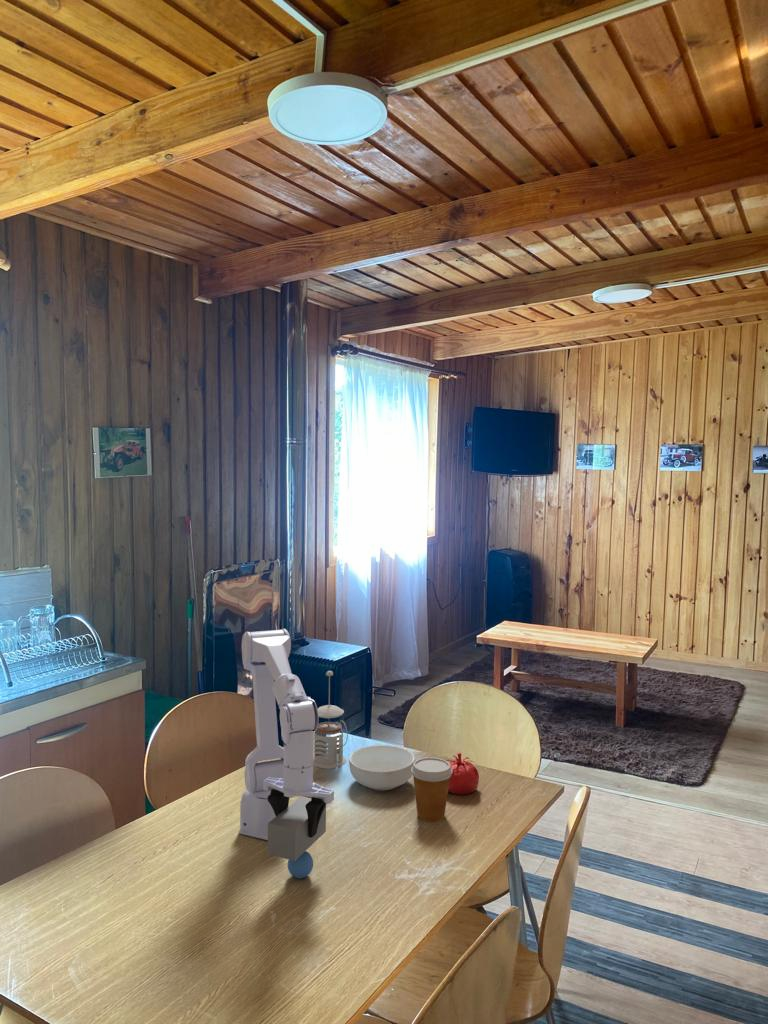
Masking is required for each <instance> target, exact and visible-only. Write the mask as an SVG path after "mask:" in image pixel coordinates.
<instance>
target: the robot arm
mask: <svg viewBox="0 0 768 1024" xmlns="http://www.w3.org/2000/svg"><path fill="white" fill-rule="evenodd" d="M291 650H292V641H291V635H290V632H289V631H288V630H287V629H286V628H281V629H274V630H261V631H260V630H259V631H245V632H244V633H243V635H242V638H241V659H242V665H243V669H244V670H246V671H250V675H251V678H252V691H253V704H254V720H255V721H254V722H255V737H256V746H255V748H254V749H253V750H252V751H251V752H250V753H248V755H247V756H246V758H245V760H244V761H245V762H244V765H245V766H244V784H245V788H246V789H245V790H244V791H243V793H242V795H241V800H240V810H239V811H240V814H239V815H240V816H239V819H240V821H239V822H240V823H239V825H240V827H239V828H240V829H239V830H238V831H237V832H238V834H239V835H243V836H248V837H251V838H257V839H259V840H265V841H268V823H269V822H270V821H271V820H272V819H274V818H275V817H276V816H277V815H279V814H280V813H281V812H282V811H284V810H285V809H286V808H287V807H288V806H290V805H289V802H290V798H295V797H302V798H307V799H311V801H310V802H308V803H307V804H306V805H305V807H306V810H307V815H308V835H309V837H311V838H312V837H313V836H314V835H315V834H316V833H317V829H318V824H319V821H320V818H321V815H322V812H323V810H324V808H325V806H326V807H327V805H330V804H331V803H333V801H334V800H335V790H334V789H331V788H330V789H329V788H328V787H324V786H322V785H320V784H317V783H316V782H314V765H313V757H314V742H315V740H314V735H315V731H316V730H317V727H318V724H319V721H320V720H319V718H320V717H319V716H318V706H317V703H316V701H315V700H314V699H313V698H311V696H307V694H306V692H305V689H304V687H303V683H302V682H301V680H300V678H299V676H297V674H293V673H292V669H291V666H290V663H289V659H288V658H289V657H290V653H291ZM276 702H277V703H276ZM276 704H277V705H278V709H279V722H280V729H281V731H280V732H281V733H280V734H281V740H282V742H283V746H281V745H279V733H278V730H279V729H278V717H277V716H278V715H277V705H276ZM314 730H315V731H314Z"/></svg>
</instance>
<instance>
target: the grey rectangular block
mask: <svg viewBox="0 0 768 1024" xmlns="http://www.w3.org/2000/svg"><path fill="white" fill-rule="evenodd" d="M310 801H311V798H306V797H301V796H299V797H298V798H297V799H296V800H295V801H293V802H292V803H291V804H290V805H288V807H287V808H286V809H285V810H284V811H282V812H281V813H280V814H279V815H277V816H276V817H275V818H274V819H272V820H271V821H270V822H269V823H268V840H267V855H268V856H274V857H278V858H281V859H285V860H293V861H296V860H297V859H298V858H299V857H300V856H301V855H302V854H303V853H304V852H305V851H308V850H309V848H311V846H313V844H314V843H316V842H317V840H319V839H320V838H321V837H322V836H323V835H324V834H325V833H326V832H327V805H326V806H325V808H324V810H323V812H322V815H321V818H320V821H319V824H318V829H317V833H316V834H315V835H314V836H313V837H312V838H311V837H309V835H308V815H307V810H306V807H305V805H306V804H307V803H308V802H310Z"/></svg>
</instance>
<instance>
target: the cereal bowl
mask: <svg viewBox="0 0 768 1024" xmlns="http://www.w3.org/2000/svg"><path fill="white" fill-rule="evenodd" d="M348 761H349V763H348V765H349V771H350V774H351V776H352V778H353V779H354V780H355V781H356V782H357V783H358V784H360V785H362V786H364V787H368V788H369V789H372V790H375V791H389V790H393V789H395V788H397V787H400V786H402V785H404V784H406V783H407V782H408V781H409V780H410V779H411V777H412V776H413V774H412V772H411V768H412V766H413V763H414V762H415V761H416V758H415V755H414V754H413V752H412V751H410V750H408V749H406V748H404V747H401V746H396V745H389V744H388V745H387V744H385V745H384V744H383V745H382V744H380V745H379V744H377V745H369V746H368V745H367V746H365V747H360V748H358V749H356V750H354V751H353V752H352V753H351V754H350V755H349V759H348Z"/></svg>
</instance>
